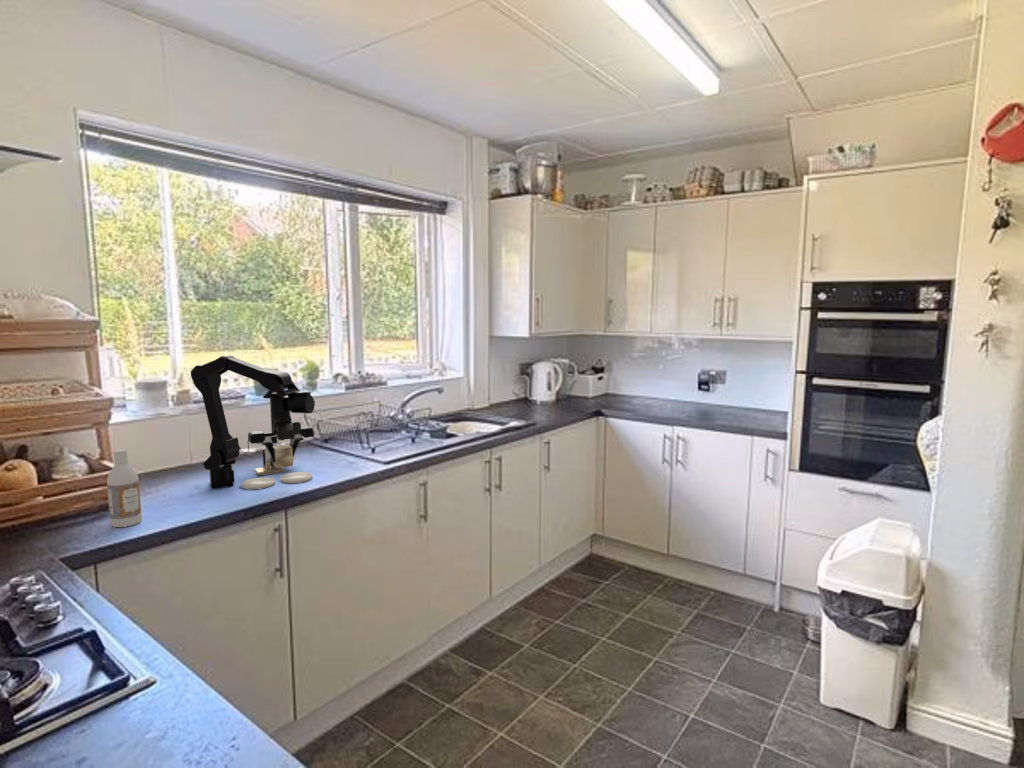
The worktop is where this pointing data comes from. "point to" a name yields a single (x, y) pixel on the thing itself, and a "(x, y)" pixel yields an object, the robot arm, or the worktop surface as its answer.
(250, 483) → the dish left
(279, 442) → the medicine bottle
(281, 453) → the beech block
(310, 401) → the robot arm
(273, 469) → the balance
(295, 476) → the dish right
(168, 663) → the worktop surface
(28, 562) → the worktop surface
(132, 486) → the bath foam
